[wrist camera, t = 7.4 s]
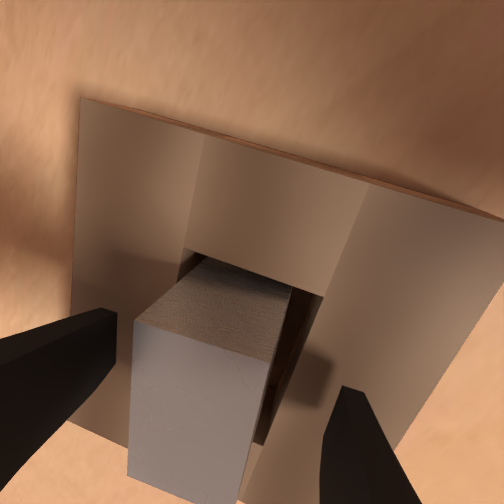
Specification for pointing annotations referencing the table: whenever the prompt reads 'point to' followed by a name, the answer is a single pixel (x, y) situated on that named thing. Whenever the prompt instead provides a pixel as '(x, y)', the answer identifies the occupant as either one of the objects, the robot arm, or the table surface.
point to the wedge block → (203, 380)
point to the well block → (278, 275)
